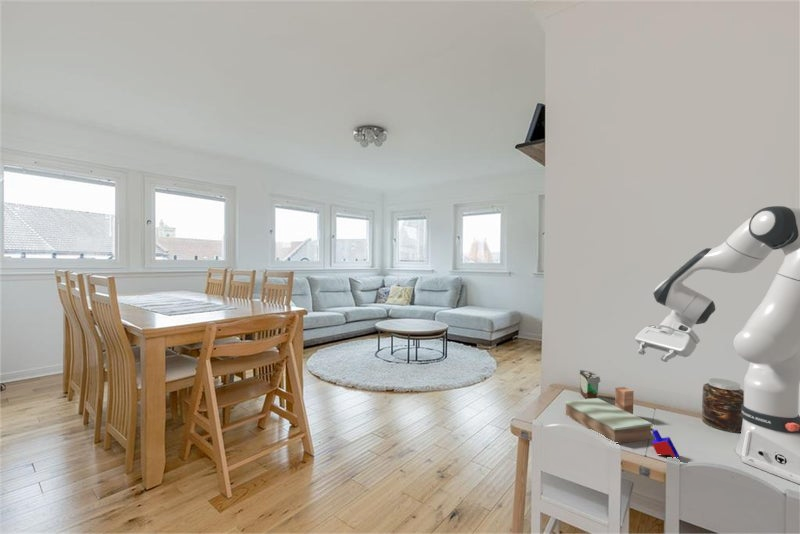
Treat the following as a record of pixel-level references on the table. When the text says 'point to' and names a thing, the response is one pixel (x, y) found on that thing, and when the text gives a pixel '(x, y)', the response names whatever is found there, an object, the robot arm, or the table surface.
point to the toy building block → (663, 445)
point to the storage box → (608, 420)
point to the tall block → (624, 399)
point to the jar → (722, 405)
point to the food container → (589, 384)
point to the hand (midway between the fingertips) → (651, 356)
